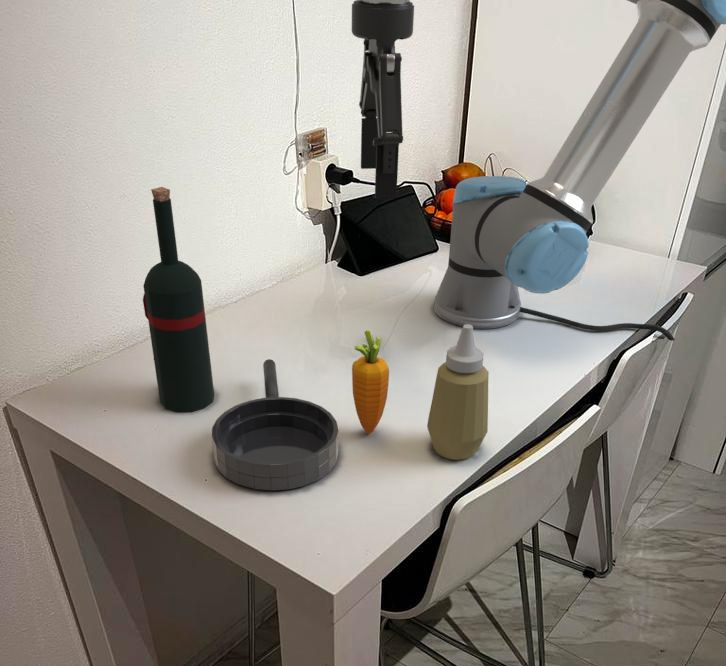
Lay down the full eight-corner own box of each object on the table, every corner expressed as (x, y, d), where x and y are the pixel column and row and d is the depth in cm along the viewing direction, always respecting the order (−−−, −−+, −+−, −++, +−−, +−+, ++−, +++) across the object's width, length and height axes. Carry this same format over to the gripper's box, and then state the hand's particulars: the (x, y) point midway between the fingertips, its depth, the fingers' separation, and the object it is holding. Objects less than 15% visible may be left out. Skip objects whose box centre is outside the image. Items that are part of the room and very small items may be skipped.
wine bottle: (183, 374, 123) (156, 173, 105) (225, 398, 117) (205, 189, 100) (139, 393, 118) (104, 185, 100) (182, 418, 113) (152, 203, 95)
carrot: (383, 445, 108) (387, 345, 99) (347, 440, 109) (348, 341, 100) (389, 426, 112) (394, 328, 103) (355, 422, 113) (356, 324, 104)
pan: (331, 419, 113) (331, 394, 111) (344, 487, 100) (344, 460, 98) (215, 426, 111) (212, 400, 109) (214, 496, 98) (210, 468, 96)
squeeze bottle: (496, 448, 108) (514, 326, 97) (461, 473, 103) (475, 348, 93) (449, 426, 112) (460, 306, 102) (413, 449, 108) (421, 326, 97)
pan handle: (275, 367, 120) (274, 356, 119) (279, 409, 110) (279, 398, 109) (263, 368, 120) (262, 357, 119) (266, 410, 110) (266, 398, 109)
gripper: (340, -12, 105) (339, 157, 118) (366, 12, 85) (362, 212, 98) (396, -11, 106) (390, 156, 118) (435, 12, 86) (422, 210, 99)
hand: (377, 182), depth 108 cm, fingers open, 13 cm apart
